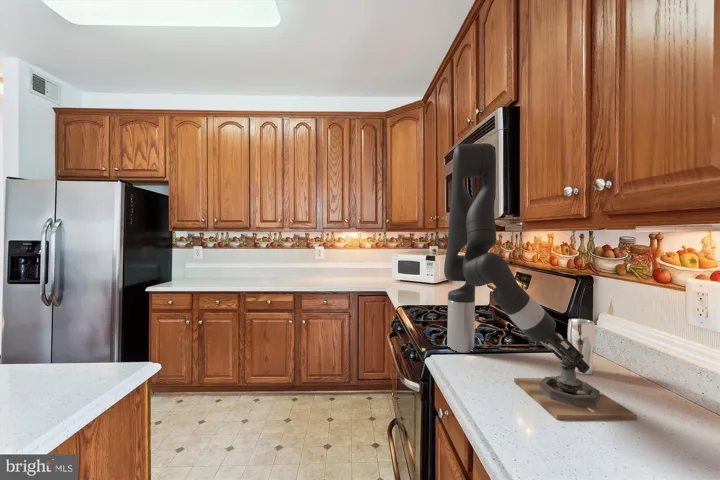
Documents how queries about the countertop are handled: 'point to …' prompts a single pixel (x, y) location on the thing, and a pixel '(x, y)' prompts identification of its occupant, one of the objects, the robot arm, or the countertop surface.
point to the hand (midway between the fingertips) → (574, 363)
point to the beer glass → (582, 339)
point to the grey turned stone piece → (568, 378)
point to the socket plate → (575, 411)
